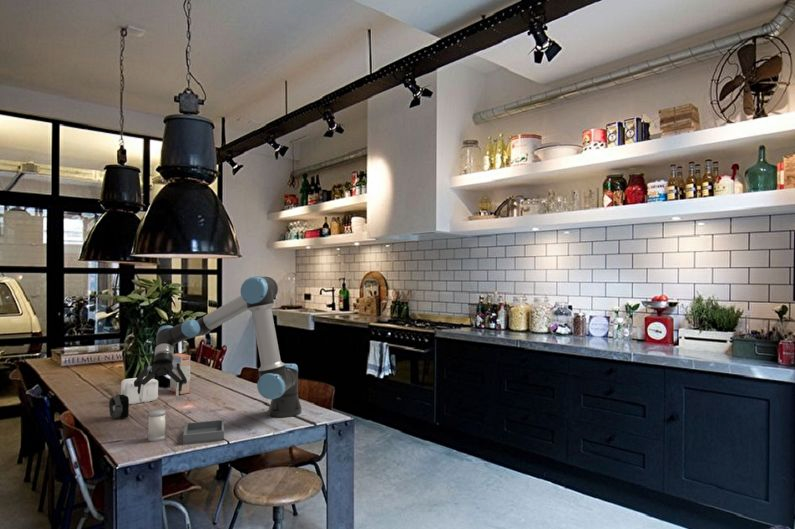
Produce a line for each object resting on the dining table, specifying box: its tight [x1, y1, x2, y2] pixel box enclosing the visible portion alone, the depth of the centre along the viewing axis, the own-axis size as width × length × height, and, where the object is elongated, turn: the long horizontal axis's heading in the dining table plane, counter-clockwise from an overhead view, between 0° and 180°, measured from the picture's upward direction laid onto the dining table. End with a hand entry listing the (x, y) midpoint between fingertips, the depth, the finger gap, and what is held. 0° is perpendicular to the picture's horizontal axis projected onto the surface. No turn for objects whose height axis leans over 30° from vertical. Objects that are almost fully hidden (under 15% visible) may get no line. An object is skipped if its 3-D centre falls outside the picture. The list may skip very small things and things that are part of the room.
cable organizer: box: [120, 376, 159, 405], centre depth 253 cm, size 15×11×12 cm
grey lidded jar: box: [147, 408, 166, 443], centre depth 193 cm, size 6×6×11 cm
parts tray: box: [182, 419, 225, 445], centre depth 197 cm, size 15×17×4 cm
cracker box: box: [169, 352, 192, 395], centre depth 274 cm, size 14×6×21 cm, turn 46°
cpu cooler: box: [108, 394, 130, 420], centre depth 223 cm, size 10×6×10 cm, turn 46°
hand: (158, 398), depth 202 cm, fingers open, 13 cm apart
